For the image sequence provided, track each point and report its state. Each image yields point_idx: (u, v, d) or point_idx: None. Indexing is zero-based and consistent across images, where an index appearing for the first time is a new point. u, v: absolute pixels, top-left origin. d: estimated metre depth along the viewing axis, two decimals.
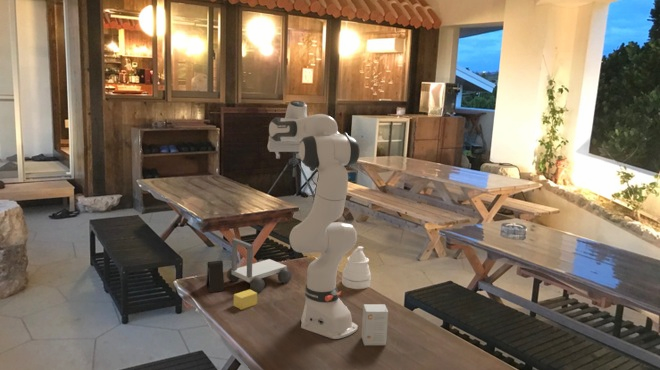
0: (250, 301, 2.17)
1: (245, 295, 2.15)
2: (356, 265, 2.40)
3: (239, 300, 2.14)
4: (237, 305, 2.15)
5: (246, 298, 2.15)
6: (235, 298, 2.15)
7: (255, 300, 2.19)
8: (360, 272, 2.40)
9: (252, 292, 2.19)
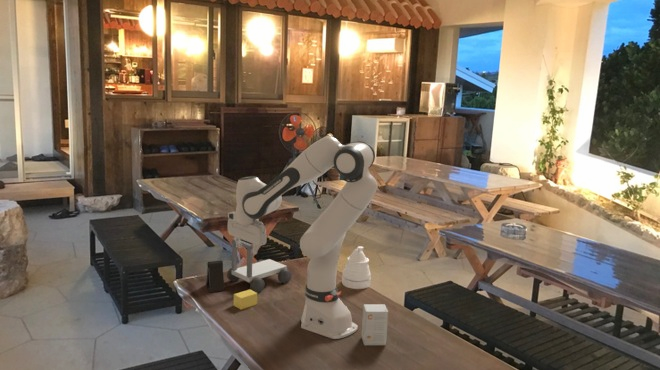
0: (250, 301, 2.17)
1: (245, 295, 2.15)
2: (356, 265, 2.40)
3: (239, 300, 2.14)
4: (237, 305, 2.15)
5: (246, 298, 2.15)
6: (235, 298, 2.16)
7: (255, 300, 2.18)
8: (360, 272, 2.40)
9: (252, 292, 2.19)
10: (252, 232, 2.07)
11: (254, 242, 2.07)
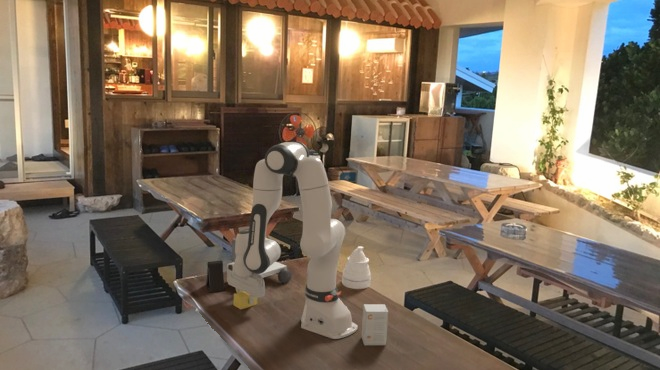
0: None
1: (245, 295, 2.15)
2: (356, 265, 2.40)
3: (239, 299, 2.14)
4: (237, 304, 2.15)
5: (246, 298, 2.15)
6: (235, 298, 2.16)
7: (255, 300, 2.18)
8: (360, 272, 2.40)
9: None
10: (251, 284, 2.12)
11: (253, 294, 2.11)
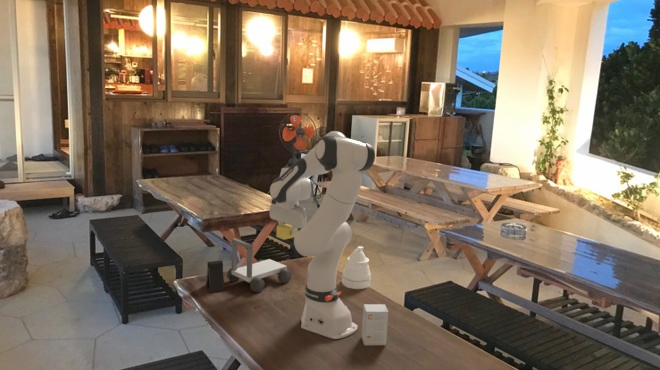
0: None
1: (287, 227, 2.34)
2: (356, 265, 2.40)
3: (282, 230, 2.33)
4: (280, 235, 2.34)
5: (288, 229, 2.34)
6: (278, 229, 2.34)
7: (296, 232, 2.37)
8: (360, 272, 2.40)
9: None
10: (294, 216, 2.31)
11: (296, 225, 2.30)
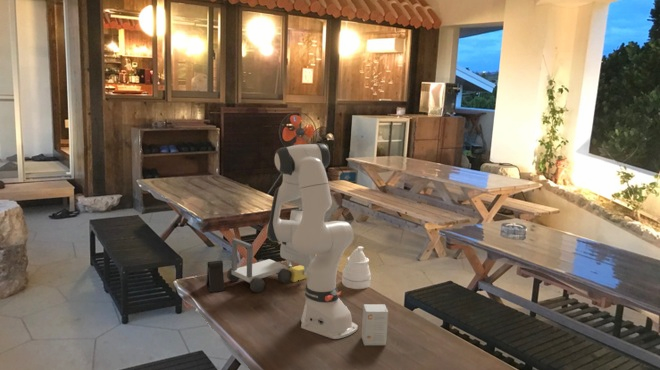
0: (301, 275, 2.47)
1: (297, 270, 2.46)
2: (356, 265, 2.40)
3: (292, 273, 2.44)
4: None
5: (298, 272, 2.45)
6: None
7: None
8: (360, 272, 2.40)
9: (303, 267, 2.49)
10: (303, 257, 2.42)
11: (305, 265, 2.41)
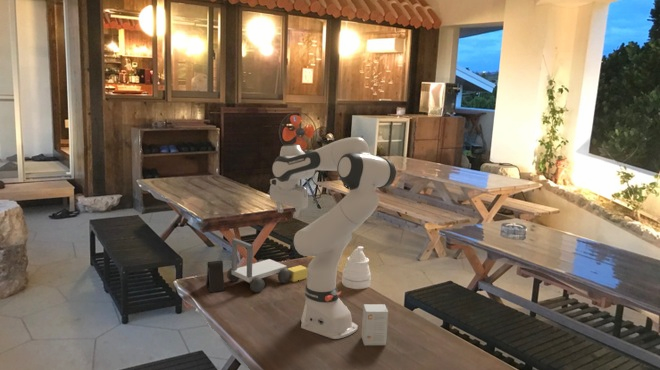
0: (301, 275, 2.47)
1: (297, 270, 2.46)
2: (356, 265, 2.40)
3: (292, 273, 2.44)
4: None
5: (298, 272, 2.45)
6: None
7: (305, 274, 2.49)
8: (360, 272, 2.40)
9: (303, 267, 2.49)
10: (295, 196, 2.21)
11: (296, 205, 2.20)
